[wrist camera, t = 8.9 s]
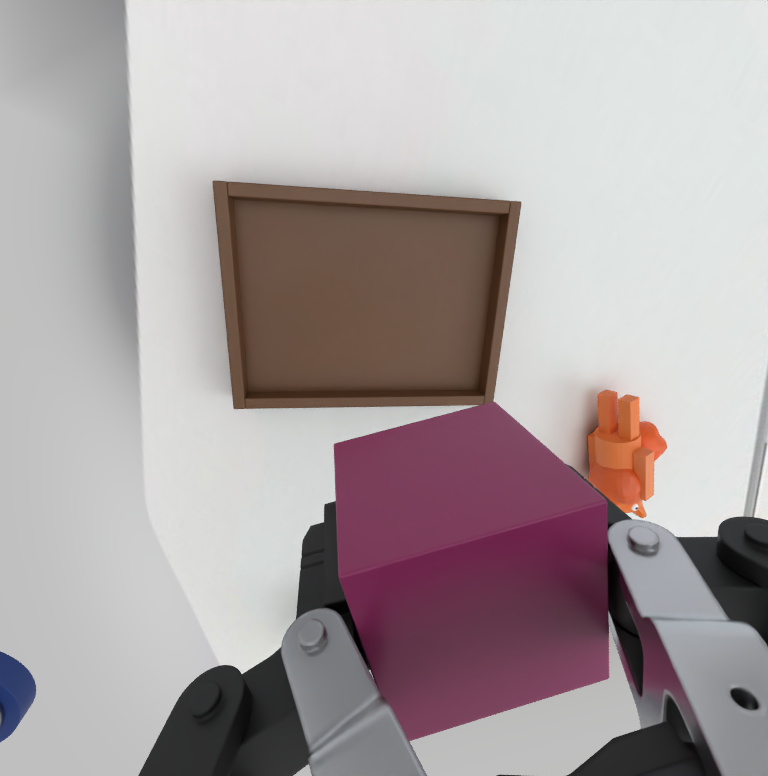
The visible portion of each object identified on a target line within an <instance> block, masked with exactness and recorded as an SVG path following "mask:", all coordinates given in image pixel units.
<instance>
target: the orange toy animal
mask: <svg viewBox="0 0 768 776" xmlns="http://www.w3.org/2000/svg"><path fill="white" fill-rule="evenodd" d="M597 398H598V420H599V426H598V427H597V428H596V429H595V431H594V432H592V433H591V434H589V435H588V449H589V466H590V473H589V477H588V481H589V482H590V483H591V484H592V485H593V487H594V488H597V489H598V490H599V491H600V492H601V493H602V494H604V495H605V496H606V497H607V498H608V499H609V500H611V501H612V502H613V503H614V504H615V505H616V506H617V507H619V508H620V509H621V510H622V511H623V512H624V513H629V512H633V513H634V514H636V515H637V516H639V517H641V518H644V517H646V512H645V510H644V507H643V505H642V500H644V501H646V500H647V499H649V498H650V497H652V496H653V495H654V461H655V460H656V459H657V458H658V457H659V456H660V455H661V454H663V452H664V451H665V450H666V449H667V445H666V442H665V440H664V439H663V438H662V437H661V436H660V434H659V432H658V430H657V428H656V426H655V425H653V424H652V423H650V422H639V397H635V396H631V395H625V396H623V397H622V398H620V399H618V403H617V392H613V391H609V390H605V391H603V392H601V393H599V394H597ZM618 419H619V423H618Z"/></svg>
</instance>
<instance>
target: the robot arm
mask: <svg viewBox="0 0 768 776" xmlns="http://www.w3.org/2000/svg"><path fill="white" fill-rule="evenodd" d="M566 465H567V464H566ZM567 466H568V467H569V468H571V469H572V470H573V471H574V472H575V473H576V474H577V475H579V476H580V477H581V478H582V479H583V480H584V481H585V482H587V483H588V484H589V485H590V486H591V487H592V488H593V489H594V490H596V491H597V492H598V493H599V494H600V495H601V496H602V497H604V498H605V499H606V501H607V522H608V613H609V626H610V629H611V632H612V635H613V638H614V641H615V644H616V647H617V650H618V653H619V656H620V659H621V662H622V665H623V668H624V671H625V674H626V677H627V680H628V683H629V686H630V689H631V692H632V694H633V698H634V700H635V704H636V707H637V711H638V715H639V719H640V724H641V729H640V730H637V731H634V732H631V733H628V734H625V735H622V736H619V737H616V738H613V739H612V740H611V741H610V742H608V743H607V744H606V745H605V746H604V747H603V748H601V749H600V750H599V751H598V752H596V753H595V754H594V755H593V756H592V757H590V758H589V759H588V760H587V761H586V762H584V763H583V764H582V765H581V766H579V767H578V768H577V769H576V770H575V771H574V772H572V773H571V774H569V775H567V776H768V520H764V519H760V518H754V517H733V518H729V519H727V520H725V521H723V522H722V523H721V524H720V526H719V529H718V537H675V536H674V535H673V534H672V533H671V532H670V531H668V530H667V529H665V528H663V527H661V526H659V525H657V524H654V523H651V522H647V521H643V520H632V519H631V518H630V517H629V516H628V515H627V514H625V513H624V512H623V511H622V510H621V509H620V508H619V507H617V506H616V505H615V504H614V503H613V502H612V501H611V500H609V499H608V498H607V497H606V496H605V495H604V494H602V493H601V492H600V491H599V490H598V489H597V488H594V487H593V485H592V484H591V483H590V482H589V481H588V480H586V479H584V478H583V476H582V475H581V474H579V473H578V472H577V471H576V470H575V469H574V468H573V467H571V466H569V465H567ZM369 670H370V667H369V664H368V661H367V658H366V655H365V652H364V649H363V646H362V644H361V641H360V638H359V635H358V632H357V629H356V626H355V623H354V621H353V618H352V615H351V612H350V609H349V606H348V603H347V600H346V597H345V595H344V592H343V589H342V586H341V583H340V580H339V577H338V549H337V521H336V501H335V502H331V503H328V504H325V506H324V523H320V524H316V525H313V526H311V527H310V528H309V530H308V532H307V534H306V536H305V537H304V539H303V544H302V558H301V570H300V580H299V592H298V603H297V615H296V620H295V621H294V622H293V623H292V625H291V626H290V627H289V629H288V630H287V632H286V634H285V636H284V638H283V641H282V646H281V648H280V649H279V650H278V651H276V652H275V653H274V654H273V655H272V656H270V657H269V658H267V659H266V660H264V661H263V662H261V663H259V664H258V665H256V666H255V667H253V668H251V669H250V670H248V671H247V672H245V673H243V674H241V672H240V671H239V670H238V669H237V668H235V667H233V666H230V665H222V666H218V667H214V668H212V669H210V670H208V671H206V672H204V673H203V674H201V675H200V676H199V677H197V678H196V679H195V680H194V681H193V682H192V683H191V684H190V685H189V686H188V687H187V688H186V689H185V691H184V692H183V693H182V695H181V696H180V697H179V699H178V701H177V702H176V704H175V706H174V708H173V710H172V712H171V714H170V716H169V718H168V720H167V721H166V724H165V725H164V727H163V729H162V731H161V733H160V735H159V737H158V739H157V741H156V743H155V745H154V747H153V749H152V750H151V752H150V754H149V757H148V758H147V760H146V762H145V764H144V766H143V768H142V770H141V772H140V774H139V776H293V775H294V774H296V773H297V772H298V771H300V770H301V769H302V768H303V767H305V766H306V765H308V764H309V766H310V770H311V774H312V776H427V775H426V773H425V771H424V769H423V767H422V765H421V763H420V761H419V759H418V757H417V756H416V753H415V751H414V750H413V748H412V746H411V744H410V742H409V740H408V738H407V736H406V734H405V732H404V730H403V728H402V726H401V725H400V723H399V721H398V719H397V717H396V715H395V713H394V711H393V709H392V707H391V706H390V704H389V702H388V701H387V699H386V698H385V697H383V696H382V695H381V693H380V691H379V689H378V687H377V685H376V683H375V681H374V679H373V678H372V675H371V674H370V672H369ZM3 721H4V709H3V706H2V704H1V703H0V727H1V725H2V724H3ZM497 776H519V775H497Z"/></svg>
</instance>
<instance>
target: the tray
mask: <svg viewBox="0 0 768 776" xmlns="http://www.w3.org/2000/svg"><path fill="white" fill-rule="evenodd" d="M213 190H214V201H215V212H216V223H217V233H218V244H219V255H220V266H221V276H222V287H223V298H224V309H225V319H226V330H227V341H228V352H229V362H230V373H231V384H232V395H233V406H234V409H245V408H246V409H253V408H319V407H385V406H450V405H483V404H487V403H491V402H493V399H494V392H495V385H496V378H497V371H498V364H499V357H500V350H501V343H502V336H503V329H504V322H505V315H506V308H507V300H508V293H509V286H510V279H511V272H512V265H513V258H514V251H515V244H516V237H517V230H518V223H519V216H520V209H521V202H518V201H503V200H489V199H474V198H460V197H445V196H430V195H416V194H401V193H386V192H372V191H357V190H342V189H328V188H313V187H298V186H284V185H269V184H255V183H240V182H226V181H213Z"/></svg>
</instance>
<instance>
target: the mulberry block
mask: <svg viewBox="0 0 768 776" xmlns="http://www.w3.org/2000/svg"><path fill="white" fill-rule="evenodd" d="M334 464H335V492H336V521H337V549H338V577H339V580H340V583H341V586H342V589H343V592H344V595H345V597H346V600H347V603H348V606H349V609H350V612H351V615H352V618H353V621H354V623H355V626H356V629H357V632H358V635H359V638H360V641H361V644H362V646H363V649H364V652H365V655H366V658H367V661H368V664H369V667H370V670H371V672H372V675H373V678H374V681H375V683H376V685H377V687H378V689H379V691H380V693H381V695H382V696H383V697H385V698H386V699H387V701H388V702H389V704H390V706H391V707H392V709H393V711H394V713H395V715H396V717H397V719H398V721H399V723H400V725H401V726H402V728H403V730H404V732H405V734H406V736H407V738H408V740H409V741H411V740H414V739H418V738H421V737H424V736H427V735H430V734H434V733H437V732H440V731H443V730H446V729H450V728H453V727H456V726H459V725H462V724H466V723H469V722H472V721H475V720H478V719H481V718H485V717H488V716H491V715H494V714H497V713H500V712H503V711H507V710H510V709H513V708H517V707H519V706H523V705H526V704H529V703H532V702H536V701H539V700H542V699H545V698H548V697H552V696H555V695H558V694H561V693H564V692H568V691H571V690H574V689H577V688H580V687H584V686H587V685H590V684H593V683H596V682H600V681H603V680H606V679H608V678H609V613H608V522H607V501H606V499H605V498H604V497H602V496H601V495H600V494H599V493H598V492H597V491H596V490H594V489H593V488H592V487H591V486H590V485H589V484H588V483H587V482H585V481H584V480H583V479H582V478H581V477H580V476H579V475H577V474H576V473H575V472H574V471H573V470H572V469H571V468H569V467H568V466H567V465H566V464H565V463H564V462H563V461H561V460H560V459H559V458H558V457H557V456H556V455H555V454H554V453H552V452H551V451H550V450H549V449H548V448H547V447H546V446H544V445H543V444H542V443H541V442H540V441H539V440H538V439H536V438H535V437H534V436H533V435H532V434H531V433H530V432H528V431H527V430H526V429H525V428H524V427H523V426H522V425H521V424H519V423H518V422H517V421H516V420H515V419H514V418H513V417H511V416H510V415H509V414H508V413H507V412H506V411H505V410H503V409H502V408H501V407H500V406H499V405H498V404H497V403H495V402H491V403H487V404H483V405H479V406H475V407H472V408H468V409H464V410H460V411H457V412H453V413H449V414H445V415H441V416H438V417H434V418H430V419H426V420H422V421H419V422H415V423H411V424H407V425H404V426H400V427H396V428H392V429H388V430H385V431H381V432H377V433H373V434H369V435H366V436H362V437H358V438H354V439H350V440H347V441H343V442H339V443H335V444H334Z"/></svg>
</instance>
